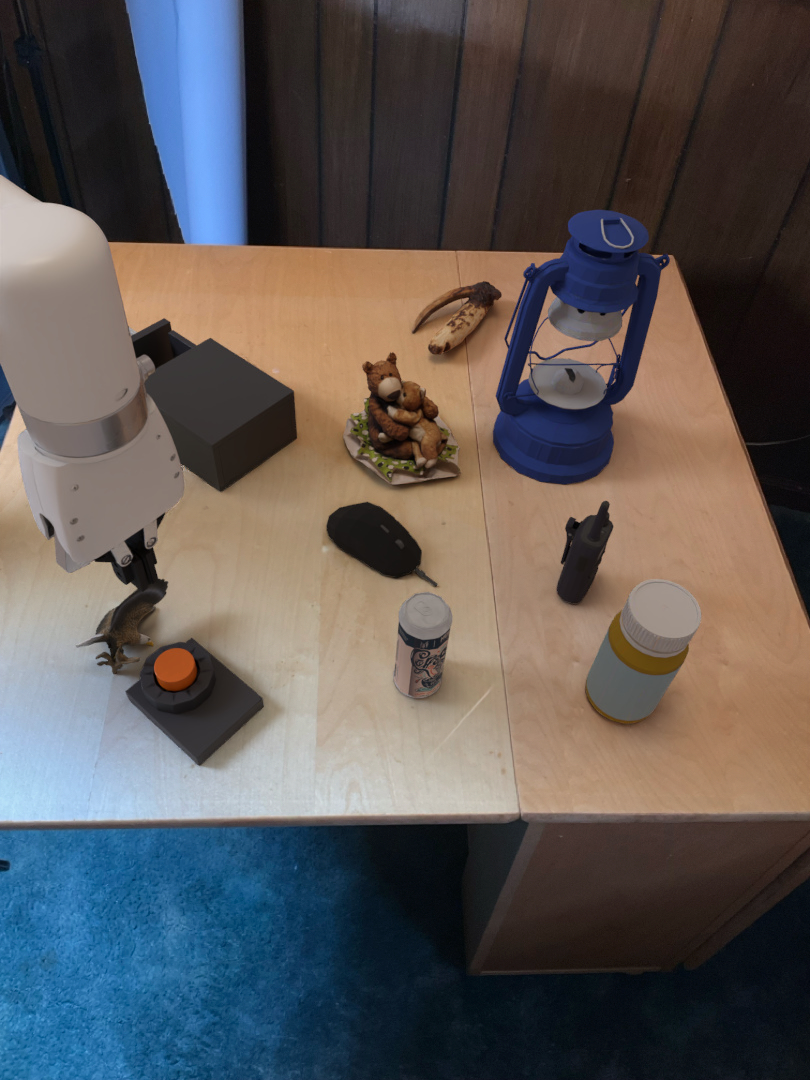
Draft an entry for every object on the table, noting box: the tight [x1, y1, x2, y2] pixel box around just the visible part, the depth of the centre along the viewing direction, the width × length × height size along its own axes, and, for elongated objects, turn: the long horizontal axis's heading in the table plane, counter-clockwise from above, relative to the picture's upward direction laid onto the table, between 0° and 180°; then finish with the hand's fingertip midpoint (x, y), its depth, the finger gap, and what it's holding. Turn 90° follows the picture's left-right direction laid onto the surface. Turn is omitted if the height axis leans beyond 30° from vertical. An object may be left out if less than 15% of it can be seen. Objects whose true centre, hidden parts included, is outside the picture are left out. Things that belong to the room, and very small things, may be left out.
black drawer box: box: [144, 337, 298, 493], centre depth 97 cm, size 15×13×8 cm
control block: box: [125, 637, 265, 767], centre depth 75 cm, size 10×8×4 cm
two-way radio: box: [556, 500, 614, 605], centre depth 82 cm, size 6×4×15 cm
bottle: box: [585, 578, 702, 725], centre depth 74 cm, size 7×7×15 cm
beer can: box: [392, 591, 454, 699], centre depth 75 cm, size 5×5×12 cm
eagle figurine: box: [75, 578, 169, 675], centre depth 78 cm, size 8×7×9 cm
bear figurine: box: [342, 351, 462, 485], centre depth 95 cm, size 14×15×12 cm
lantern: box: [492, 209, 671, 485], centre depth 91 cm, size 17×15×30 cm
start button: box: [154, 648, 197, 691], centre depth 74 cm, size 4×4×2 cm
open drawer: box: [129, 317, 198, 369], centre depth 101 cm, size 19×11×6 cm, turn 50°
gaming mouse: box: [326, 501, 439, 588], centre depth 88 cm, size 6×15×4 cm, turn 51°
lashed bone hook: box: [411, 280, 502, 356], centre depth 115 cm, size 9×5×18 cm
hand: (138, 576), depth 66 cm, fingers closed
